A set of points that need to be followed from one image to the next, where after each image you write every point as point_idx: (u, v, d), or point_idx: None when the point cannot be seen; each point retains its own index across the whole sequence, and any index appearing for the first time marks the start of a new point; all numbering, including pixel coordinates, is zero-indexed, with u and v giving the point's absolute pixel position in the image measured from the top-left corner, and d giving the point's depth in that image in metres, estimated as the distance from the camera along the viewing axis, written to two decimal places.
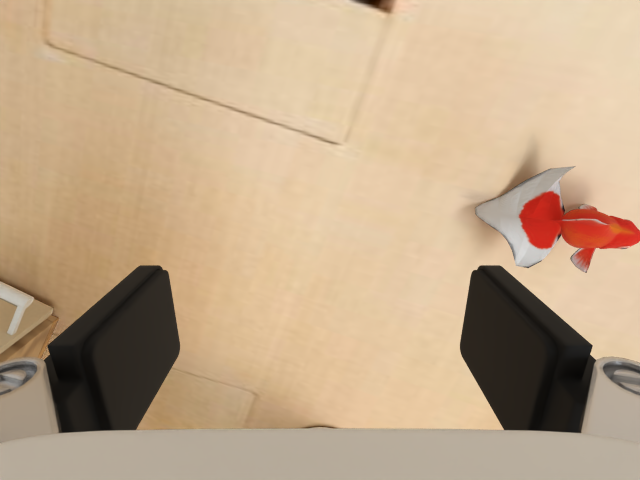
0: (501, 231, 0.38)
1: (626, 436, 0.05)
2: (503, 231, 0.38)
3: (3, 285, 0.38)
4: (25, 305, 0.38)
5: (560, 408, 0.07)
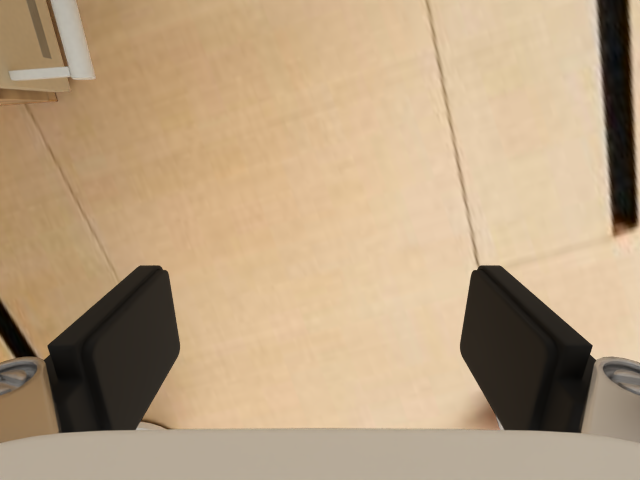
0: None
1: (626, 436, 0.05)
2: None
3: (81, 29, 0.23)
4: (78, 78, 0.24)
5: (560, 408, 0.07)
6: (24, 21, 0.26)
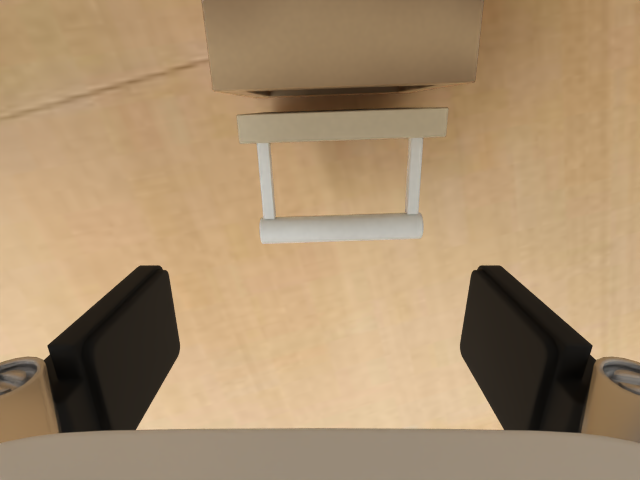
0: None
1: (626, 436, 0.05)
2: None
3: (315, 241, 0.20)
4: (260, 232, 0.19)
5: (559, 408, 0.07)
6: None
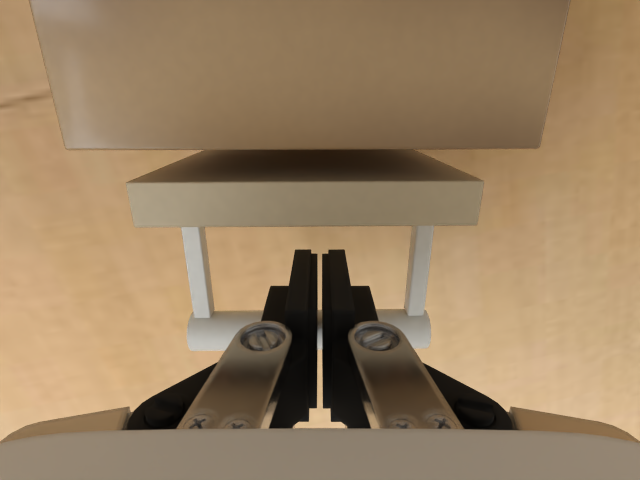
0: None
1: (399, 394, 0.06)
2: None
3: None
4: (188, 337, 0.13)
5: (332, 365, 0.08)
6: None
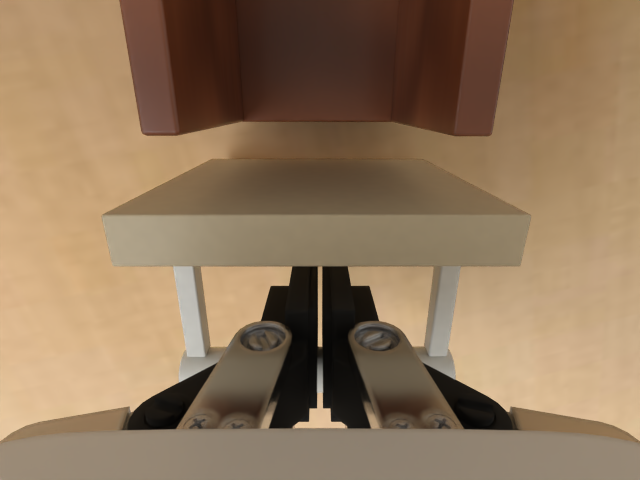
0: None
1: (400, 394, 0.06)
2: None
3: None
4: (181, 378, 0.11)
5: (332, 365, 0.08)
6: None
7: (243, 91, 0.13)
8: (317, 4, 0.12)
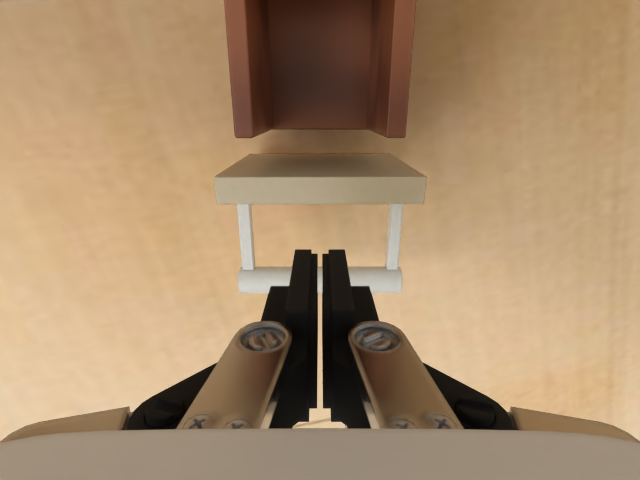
0: None
1: (400, 394, 0.06)
2: None
3: None
4: (238, 283, 0.19)
5: (332, 365, 0.08)
6: None
7: (273, 110, 0.21)
8: (320, 58, 0.20)
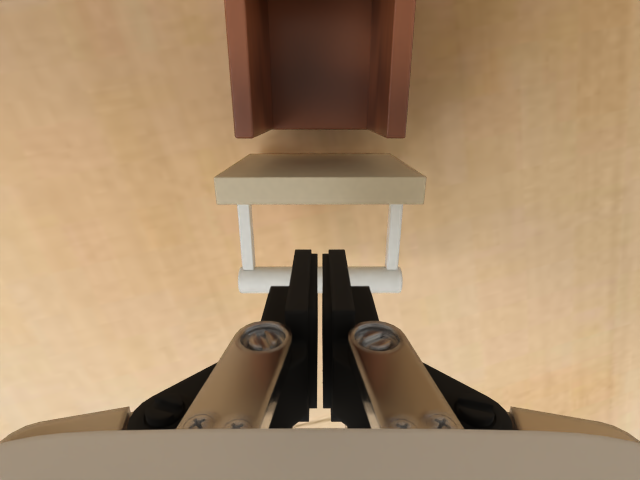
0: None
1: (400, 394, 0.06)
2: None
3: None
4: (239, 282, 0.19)
5: (332, 365, 0.08)
6: None
7: (273, 110, 0.21)
8: (320, 58, 0.20)
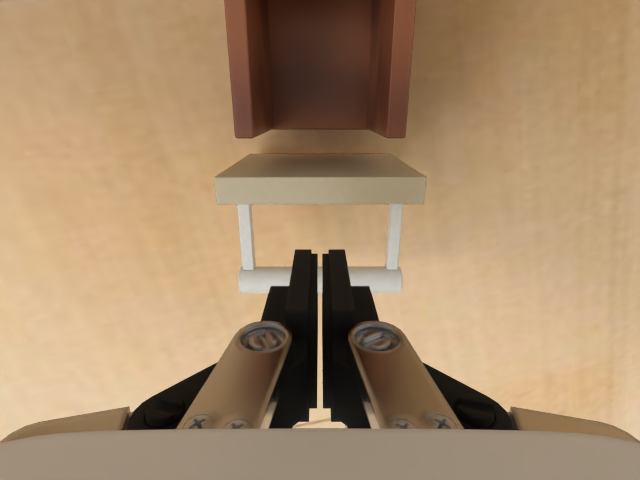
0: None
1: (400, 394, 0.06)
2: None
3: None
4: (239, 282, 0.19)
5: (332, 365, 0.08)
6: None
7: (273, 110, 0.21)
8: (320, 58, 0.20)
